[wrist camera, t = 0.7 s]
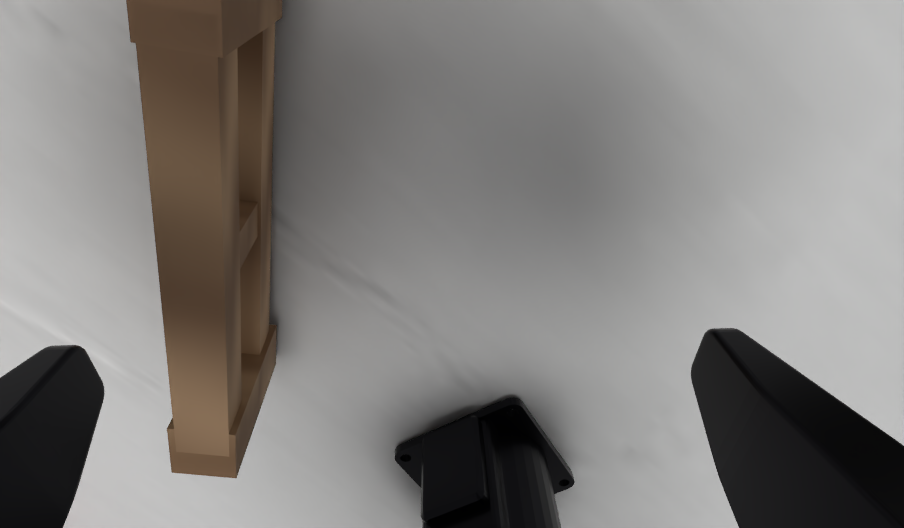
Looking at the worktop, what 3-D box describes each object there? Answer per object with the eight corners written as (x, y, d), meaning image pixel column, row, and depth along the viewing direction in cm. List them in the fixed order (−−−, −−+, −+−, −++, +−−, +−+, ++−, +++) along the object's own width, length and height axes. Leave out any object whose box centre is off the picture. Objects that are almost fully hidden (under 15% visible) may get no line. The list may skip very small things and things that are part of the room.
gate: (211, -67, 15) (115, -60, 11) (287, -53, 16) (225, -39, 11) (224, 358, 23) (171, 472, 18) (275, 364, 23) (236, 478, 18)
